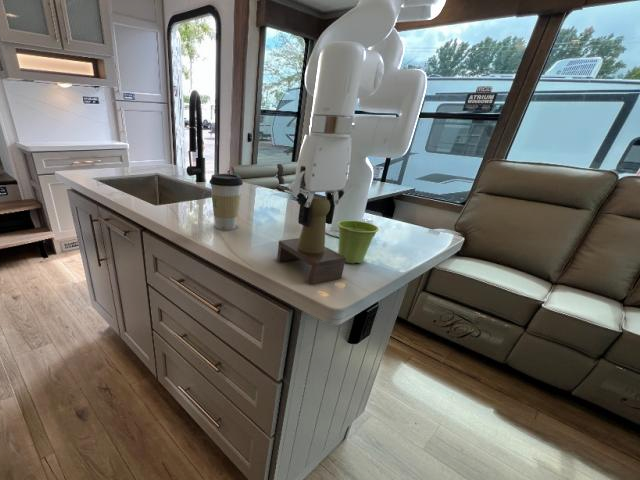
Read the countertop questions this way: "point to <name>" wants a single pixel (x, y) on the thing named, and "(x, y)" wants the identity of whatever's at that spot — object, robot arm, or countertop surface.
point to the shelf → (313, 261)
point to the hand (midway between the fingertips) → (314, 222)
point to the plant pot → (355, 239)
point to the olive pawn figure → (315, 227)
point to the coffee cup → (225, 199)
